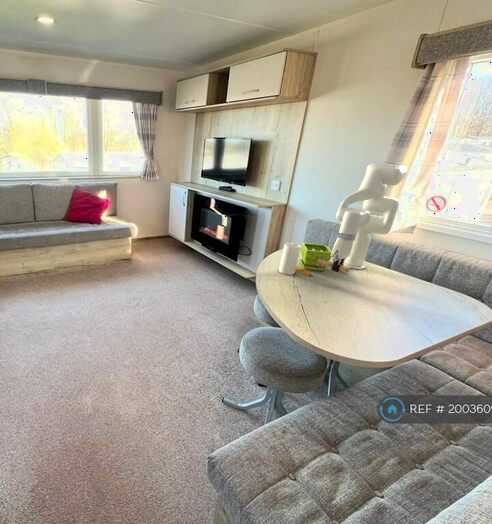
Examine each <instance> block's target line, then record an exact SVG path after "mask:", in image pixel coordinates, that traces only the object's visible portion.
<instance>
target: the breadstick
mask: <svg viewBox="0 0 492 524" xmlns="http://www.w3.org/2000/svg"><path fill="white" fill-rule="evenodd" d="M295 272H296V273H297V272H298V273H300V274H302V275H304V276H308V277H311V276H312V275H313V271H310V270H308V269H304V268H302V267H299V266H297V265H296V269H295Z"/></svg>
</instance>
